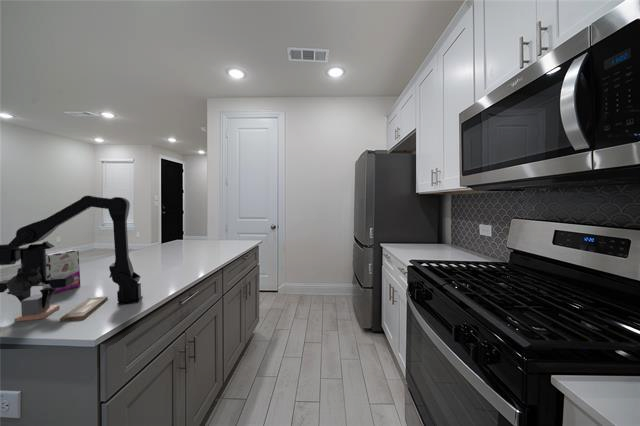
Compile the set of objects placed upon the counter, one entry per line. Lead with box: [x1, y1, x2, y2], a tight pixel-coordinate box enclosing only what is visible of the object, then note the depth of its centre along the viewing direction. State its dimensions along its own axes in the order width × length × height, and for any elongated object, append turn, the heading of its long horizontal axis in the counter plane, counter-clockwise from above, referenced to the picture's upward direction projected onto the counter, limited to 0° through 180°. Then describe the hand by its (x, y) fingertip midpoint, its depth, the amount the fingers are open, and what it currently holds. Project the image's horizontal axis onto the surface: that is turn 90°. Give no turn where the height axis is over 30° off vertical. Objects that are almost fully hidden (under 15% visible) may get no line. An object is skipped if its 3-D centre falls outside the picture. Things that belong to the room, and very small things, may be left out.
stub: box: [13, 293, 61, 322], centre depth 88 cm, size 7×9×6 cm
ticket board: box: [59, 296, 108, 323], centre depth 93 cm, size 6×18×1 cm, turn 19°
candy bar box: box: [42, 249, 81, 295], centre depth 112 cm, size 11×5×16 cm, turn 168°
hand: (36, 308), depth 88 cm, fingers closed on stub, 4 cm apart
